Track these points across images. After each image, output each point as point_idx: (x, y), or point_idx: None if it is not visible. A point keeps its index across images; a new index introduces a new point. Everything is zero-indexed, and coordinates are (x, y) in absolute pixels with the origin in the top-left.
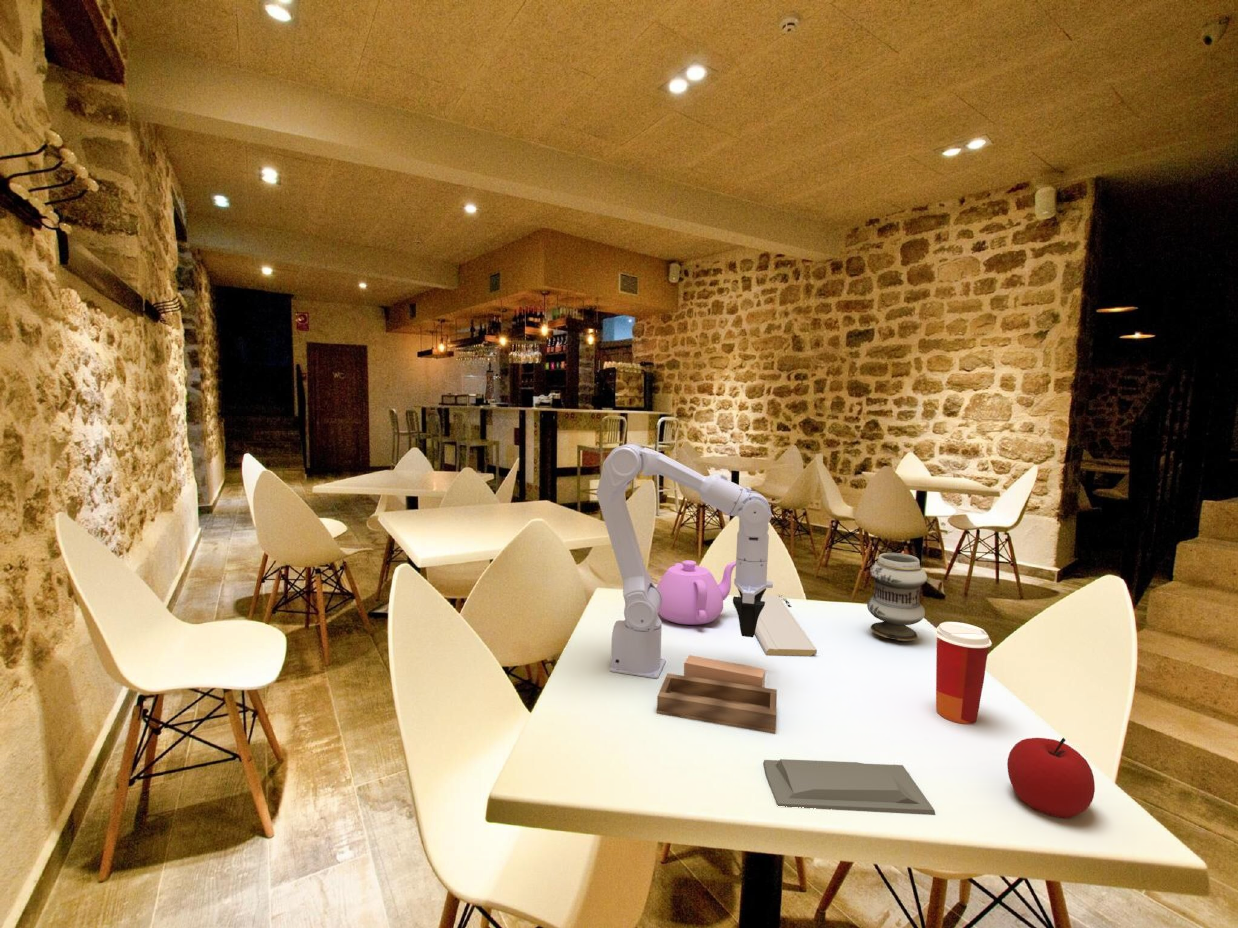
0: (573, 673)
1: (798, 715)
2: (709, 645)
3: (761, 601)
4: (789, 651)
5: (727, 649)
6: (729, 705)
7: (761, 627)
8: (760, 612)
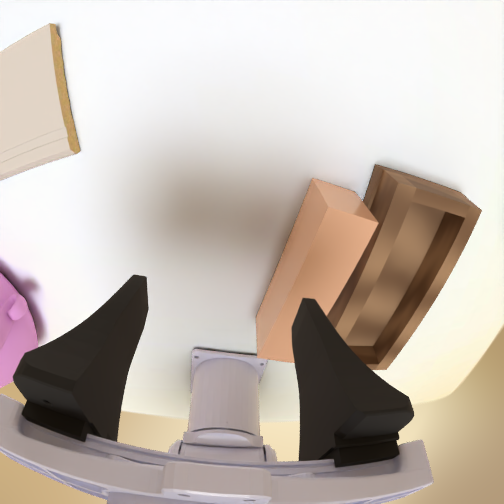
0: (260, 417)
1: (402, 122)
2: (83, 275)
3: (363, 424)
4: (61, 93)
5: (85, 241)
6: (439, 284)
7: None
8: (383, 380)
